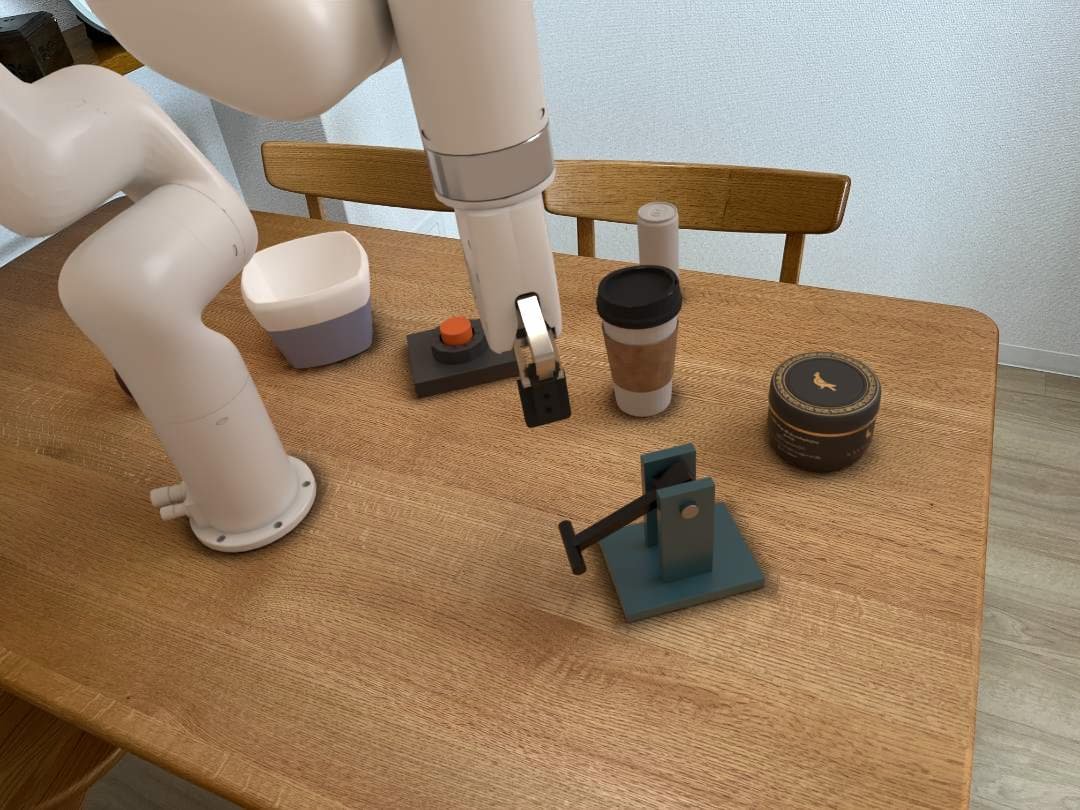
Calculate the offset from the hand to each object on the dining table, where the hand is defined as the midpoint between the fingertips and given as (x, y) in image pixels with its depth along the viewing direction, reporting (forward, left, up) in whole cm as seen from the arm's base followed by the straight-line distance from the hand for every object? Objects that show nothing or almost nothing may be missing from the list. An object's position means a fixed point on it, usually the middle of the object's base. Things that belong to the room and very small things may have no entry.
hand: (533, 379), depth 59 cm
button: (-4, +32, -17) cm, 37 cm away
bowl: (-20, +43, -21) cm, 52 cm away
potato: (-41, +40, -21) cm, 61 cm away
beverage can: (+22, +36, -21) cm, 47 cm away
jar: (+28, +6, -21) cm, 35 cm away
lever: (+6, -4, -14) cm, 16 cm away
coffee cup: (+14, +18, -21) cm, 31 cm away
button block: (-4, +32, -21) cm, 39 cm away
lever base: (+10, -4, -21) cm, 23 cm away
